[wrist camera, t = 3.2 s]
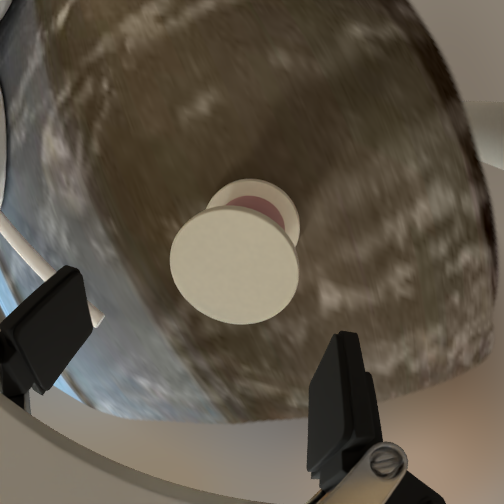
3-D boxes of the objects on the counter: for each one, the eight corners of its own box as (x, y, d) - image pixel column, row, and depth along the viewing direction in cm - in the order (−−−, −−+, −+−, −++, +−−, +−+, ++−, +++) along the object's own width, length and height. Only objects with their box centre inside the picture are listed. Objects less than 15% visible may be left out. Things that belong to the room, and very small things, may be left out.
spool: (319, 222, 17) (327, 271, 12) (258, 282, 20) (242, 342, 15) (244, 158, 16) (217, 179, 11) (189, 228, 19) (149, 273, 14)
